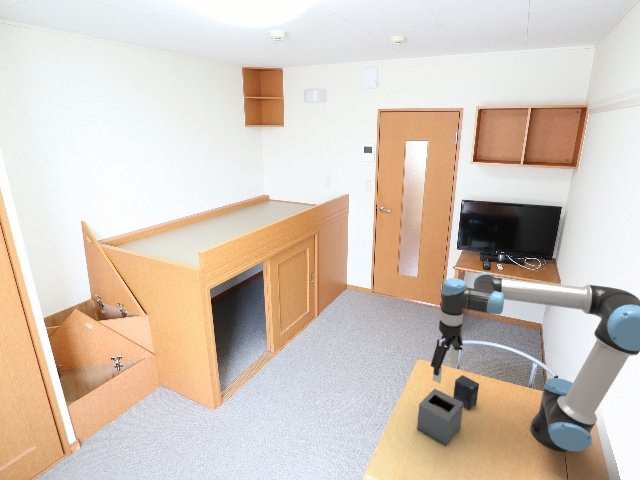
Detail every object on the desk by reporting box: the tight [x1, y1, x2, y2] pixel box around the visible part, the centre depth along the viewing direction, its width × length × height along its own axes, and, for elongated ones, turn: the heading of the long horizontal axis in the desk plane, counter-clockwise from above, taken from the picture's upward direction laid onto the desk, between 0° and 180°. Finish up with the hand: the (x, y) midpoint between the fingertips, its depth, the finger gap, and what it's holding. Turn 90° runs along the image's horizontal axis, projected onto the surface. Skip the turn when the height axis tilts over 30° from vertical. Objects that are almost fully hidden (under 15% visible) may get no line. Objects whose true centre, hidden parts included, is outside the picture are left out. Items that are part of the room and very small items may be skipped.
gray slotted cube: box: [416, 388, 464, 447], centre depth 148 cm, size 12×12×12 cm
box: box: [452, 374, 480, 411], centre depth 162 cm, size 8×6×11 cm
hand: (445, 372), depth 142 cm, fingers open, 13 cm apart
